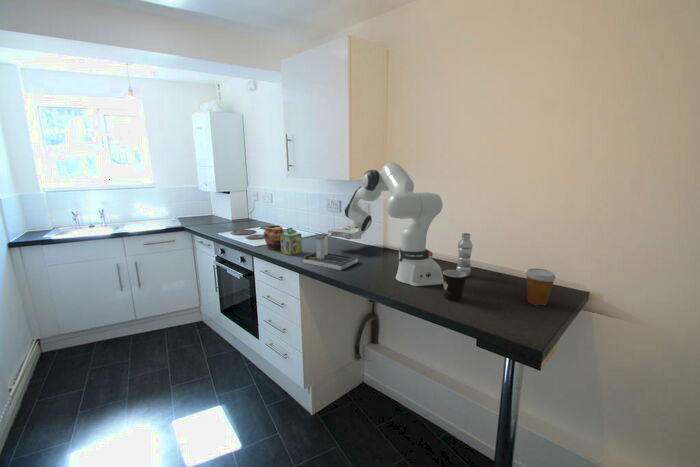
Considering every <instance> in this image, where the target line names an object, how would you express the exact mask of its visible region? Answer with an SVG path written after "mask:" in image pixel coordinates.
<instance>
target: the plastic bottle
mask: <svg viewBox="0 0 700 467" xmlns="http://www.w3.org/2000/svg"><path fill="white" fill-rule="evenodd" d="M457 246H458V247H457V250H458V251H457V252H458V254H457V255H458V258H457V265H456V269H455V270H458V271H462V272H464V273H466V278H467V277H470V275H471V273H472V270H471V256H472V251H473V248H474V245H473V243H472V241H471V234H470V233H468V232H466V233H465V232H464V233H461V239H460V240H459V242H458V244H457Z"/></svg>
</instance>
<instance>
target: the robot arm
mask: <svg viewBox="0 0 700 467" xmlns="http://www.w3.org/2000/svg"><path fill="white" fill-rule="evenodd" d="M362 184H363V185H360V186H359V187H357V189H356V190H355V191H354V193H353V195H352V196H351V198H350V200H349V202H348V204H347V205H346V207H345V208H344V216H345V217H346V218H348V219H350V220H351V221H352V222H353V223H350V224H347V225H344V226H343V227H342V228H330V229H328V230H327V234H328V235H327V237H334V238H335V237H338V238H342V239H346V240H353V239H354V240H357V239H360V240H361V239H362V235H364V234H365V233H366V232H367V230H368V229H369V228H370V226H371V225H372V220H373V219H372V215H370V214H369V212H367V211H365V210H364V209H363V208H361V206H360V205H359V202H360V200H363V201H366V202H374V201H377V200H378V199H379V198H380V196H381V194H382V192H387V191H388V192H390V194H391V195H390V196H389V197H388V199H387V201H386V204H385V207H386V212H387V214H388V216H390V217H391V218H394V219H401V220H403V219H404V220H405V219H406V220H407V219H411V220H410V222H409V224H407V226H404V228H402V230H401V232H400V246H399V251H398V268H397V273H396V275H395V279H396V281H398V282H400V283H403V284H407V285H411V286H413V287H423V286H424V287H426V286H435V285H437V286H438V285H444V284H443V270H442V269H441V266H440V265H439V264H438V263H437V262H436V261H435V260H433V259H432V258H431V257H433V256H434V253H433V252H432V251H431V250H429V249H427V248H426V245H427V236H428V235H427V234H428V231H429V228H430V226H431V224H432V222H433V221H434V219H435V218H436V217H437V216H439V214H440V213H441V212H442V209H443V200H442V197H440V195H439V194H438V193H433V192H427V191H426V192H414V190H415V183H414V181H413V179H412V178H411V177H410V175H409V174H408V173H407V171H406V170H405V169H404V168H403V167H402V166H400V164H398V163H397V162H393V161H391V162H387V163H386V164H385V165H384V166H383V167H382V168H381V169H380V168H379V169H370V170H366V171H365V172H364V173H363V176H362ZM365 231H366V232H365Z"/></svg>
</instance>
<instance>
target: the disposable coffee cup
mask: <svg viewBox="0 0 700 467" xmlns="http://www.w3.org/2000/svg"><path fill="white" fill-rule="evenodd" d="M525 276H526V289H527V290H526V291H527V292H526V294H527V296H526V297H527V303H529V304H531V305H534V306H538V305H545V306H546V304H547V305H548V302H549V298H550V294H551V291H552V288H553V285H554V281H555V280H556V278H557V277H556V274H555V273H554V271H552V270H548V269H544V268H529V269H527V271H526V272H525Z"/></svg>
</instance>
